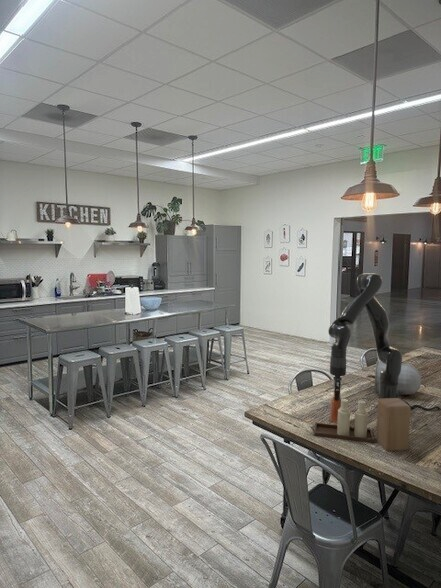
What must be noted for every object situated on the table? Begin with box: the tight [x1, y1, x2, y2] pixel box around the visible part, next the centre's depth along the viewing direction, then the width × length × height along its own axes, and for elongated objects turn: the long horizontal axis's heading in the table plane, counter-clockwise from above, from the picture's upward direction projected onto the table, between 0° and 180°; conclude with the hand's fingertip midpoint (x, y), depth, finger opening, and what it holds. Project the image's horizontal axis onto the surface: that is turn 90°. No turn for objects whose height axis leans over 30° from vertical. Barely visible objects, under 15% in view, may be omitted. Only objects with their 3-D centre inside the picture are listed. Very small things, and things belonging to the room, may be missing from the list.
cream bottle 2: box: [353, 400, 369, 438], centre depth 179 cm, size 5×5×16 cm
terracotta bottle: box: [329, 389, 342, 424], centre depth 195 cm, size 5×5×16 cm
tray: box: [313, 422, 375, 444], centre depth 182 cm, size 26×11×2 cm, turn 75°
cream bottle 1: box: [336, 398, 351, 436], centre depth 181 cm, size 5×5×16 cm
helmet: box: [365, 360, 422, 396], centre depth 234 cm, size 19×18×30 cm
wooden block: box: [375, 398, 412, 452], centre depth 171 cm, size 10×10×20 cm
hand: (336, 398), depth 195 cm, fingers open, 5 cm apart
